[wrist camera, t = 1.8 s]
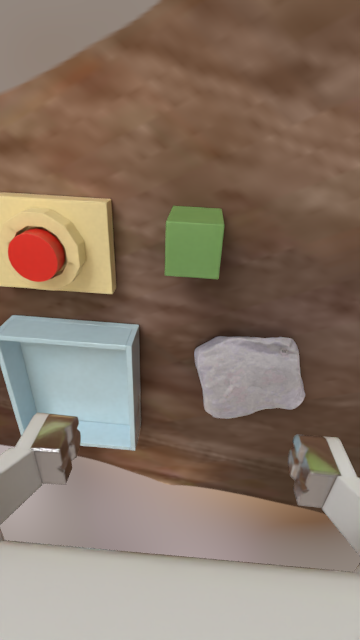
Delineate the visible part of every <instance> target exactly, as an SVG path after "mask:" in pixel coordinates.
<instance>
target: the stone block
mask: <svg viewBox="0 0 360 640" xmlns="http://www.w3.org/2000/svg"><path fill="white" fill-rule="evenodd" d="M194 355H195V366H196V368H197V371H198V375H199V378H200V381H201V385H202V389H203V402H204V408H205V411H206V412H207V413H209V414H211V415H212V416H213V417H216V418H226V419H229V418H236V417H240V416H245V415H249V414H252V413H254V412H256V411H259V410H263V409H274V408H283V409H294V408H296V407H298V406H299V405H300V404H301V403H302V401H303V399H304V397H305V392H304V387H303V381H302V378H301V375H300V373H301V372H300V366H299V350H298V347H297V345H296V343H295V342H294V340H293V339H291V338H284V337H278V338H273V337H271V338H260V337H239V336H234V337H226V336H218V337H215V338H213V339H212V340H210V341H208V342H206V343H204V344H202V345H200V346H198V347H197V348H196V349H195V353H194Z"/></svg>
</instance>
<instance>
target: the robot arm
mask: <svg viewBox="0 0 360 640" xmlns="http://www.w3.org/2000/svg"><path fill="white" fill-rule="evenodd" d="M78 425H79V421H78V417H76V416H67V415H58V414H47V413H36V414H35V415H34V416H33V417H32V419H31V421H30V423H29V424H28V426H27V428H26V429H25V431H24V433H23V434H22V436H21V438H20V439H19V441H18V443H17V444H16V446H15V448H10V449H8V450H7V451H5V452H4V453H2V454H1V455H0V525H1V524H2V523H3V522H4V521H5V520H6V519H7V518H8V517H9V516H10V515H11V514H12V513H13V512H14V511H15V510H16V509H18V508H19V507H20V506H21V505H22V503H24V502H25V501H26V500H27V499H28V498H29V497H30V496H31V495H32V494H33V493H34V492H35V491H36V490H37V489H38V488H39V487H41V486H42V483H43V484H61V485H66V483H67V480H68V478H69V475H70V472H71V470H72V464H71V461H72V460H74V459H75V458H76V457H77V454H78V451H79V447H80V442H81V434H80V431H79V430H78V429H77V427H78ZM293 444H294V447H292V448H291V449H290V451H289V454H288V469H289V473H290V476H291V477H292V478H293V479H294V480H295V483H294V486H293V489H294V493H295V496H296V500H297V504H298V505H301V506H310V507H319V508H322V510H323V511H324V513H325V514H326V515H327V516H328V517H329V519H330V520H331V521H332V522H333V524H334V525H335V526H336V528H337V529H338V530H339V531H340V533H341V534H342V535H343V536H344V537H345V539H346V540H347V541H348V542H349V544H350V545H351V546H352V548H353V549H354V550H355V551H356V553H357V554H358V555H359V556H360V478H358V477H357V475H356V473H355V471H354V469H353V467H352V464H351V462H350V460H349V458H348V456H347V454H346V451H345V449H344V447H343V445H342V443H341V441H340V439H339V438H337V437H323V436H313V435H298V434H296V435H295V436H294V439H293ZM0 640H360V563H359V565H358V566H357V568H356V569H355V571H354V572H348V571H337V570H325V569H315V568H304V567H293V566H282V565H271V564H260V563H249V562H239V561H228V560H216V559H206V558H194V557H184V556H172V555H161V554H149V553H139V552H128V551H116V550H106V549H95V548H84V547H73V546H61V545H51V544H40V543H29V542H17V541H6V540H5V539H4V536H3V534H2V532H1V529H0Z"/></svg>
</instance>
